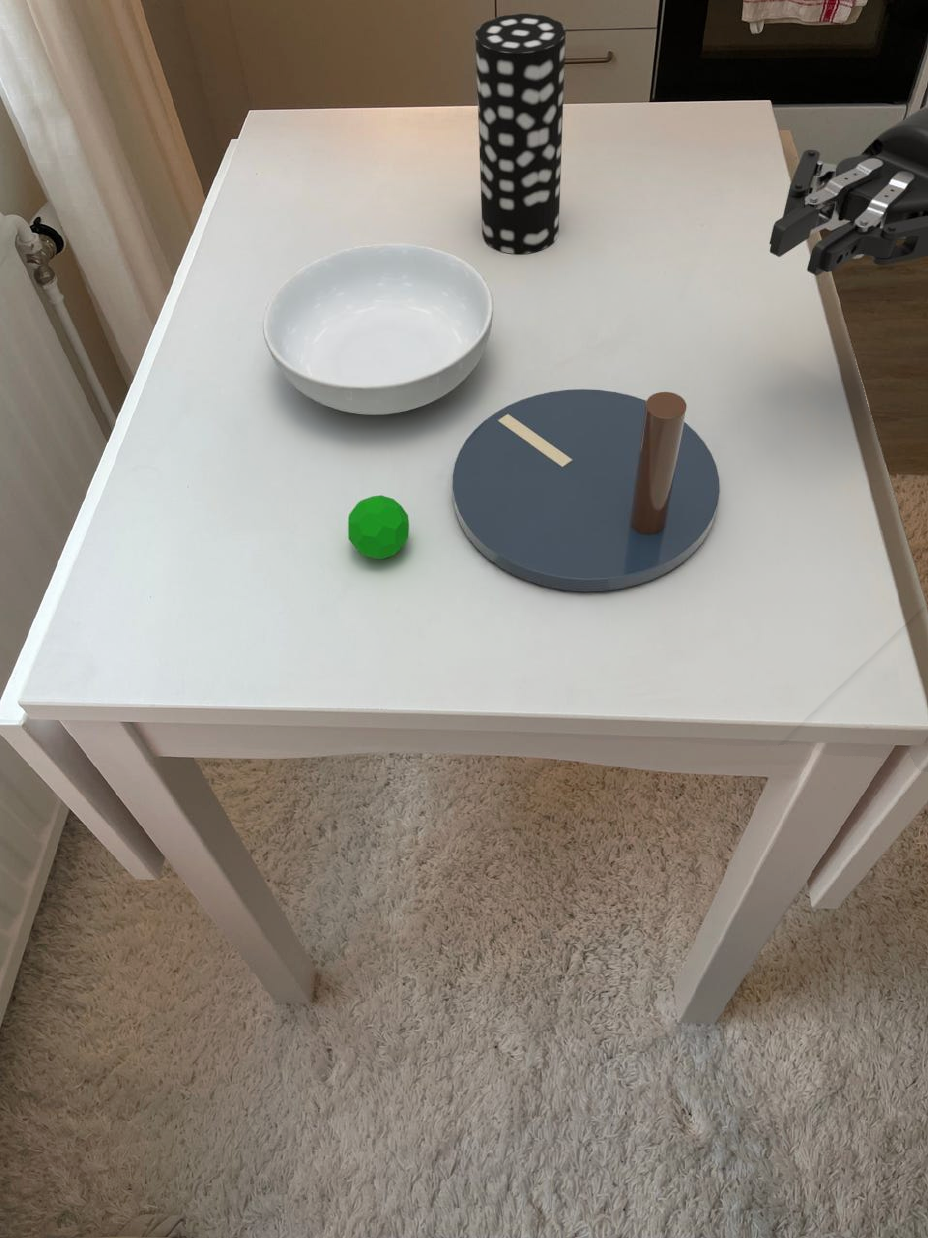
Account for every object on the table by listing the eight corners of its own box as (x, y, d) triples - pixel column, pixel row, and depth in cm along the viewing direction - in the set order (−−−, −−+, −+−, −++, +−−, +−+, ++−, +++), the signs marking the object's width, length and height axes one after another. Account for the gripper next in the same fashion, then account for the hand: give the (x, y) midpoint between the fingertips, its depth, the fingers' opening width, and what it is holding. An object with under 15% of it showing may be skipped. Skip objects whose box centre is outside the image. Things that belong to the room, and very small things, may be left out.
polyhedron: (414, 566, 76) (408, 527, 73) (352, 573, 76) (344, 533, 73) (409, 521, 79) (404, 480, 76) (351, 527, 79) (342, 487, 75)
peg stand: (400, 486, 81) (381, 358, 71) (582, 369, 89) (590, 237, 79) (585, 640, 71) (597, 516, 60) (772, 491, 79) (812, 359, 68)
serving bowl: (238, 361, 93) (220, 300, 88) (414, 278, 100) (407, 217, 94) (353, 479, 83) (340, 419, 77) (540, 378, 89) (541, 315, 84)
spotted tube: (471, 246, 103) (461, 46, 87) (498, 206, 107) (494, 9, 91) (544, 259, 101) (548, 57, 85) (568, 218, 105) (577, 18, 89)
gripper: (873, 75, 72) (724, 162, 66) (1048, 139, 65) (901, 242, 59) (846, 172, 78) (707, 259, 72) (1004, 239, 71) (866, 342, 65)
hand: (795, 251), depth 66 cm, fingers closed
